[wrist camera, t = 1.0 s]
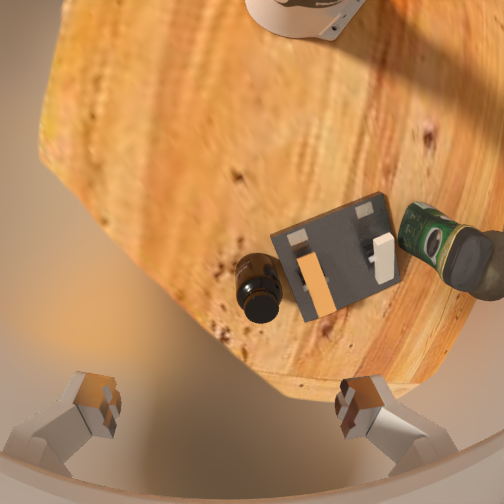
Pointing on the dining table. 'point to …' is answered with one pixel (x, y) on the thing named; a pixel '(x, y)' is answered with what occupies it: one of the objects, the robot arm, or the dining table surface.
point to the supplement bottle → (258, 288)
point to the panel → (337, 252)
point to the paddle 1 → (316, 284)
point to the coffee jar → (445, 245)
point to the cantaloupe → (492, 271)
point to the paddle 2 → (383, 258)
